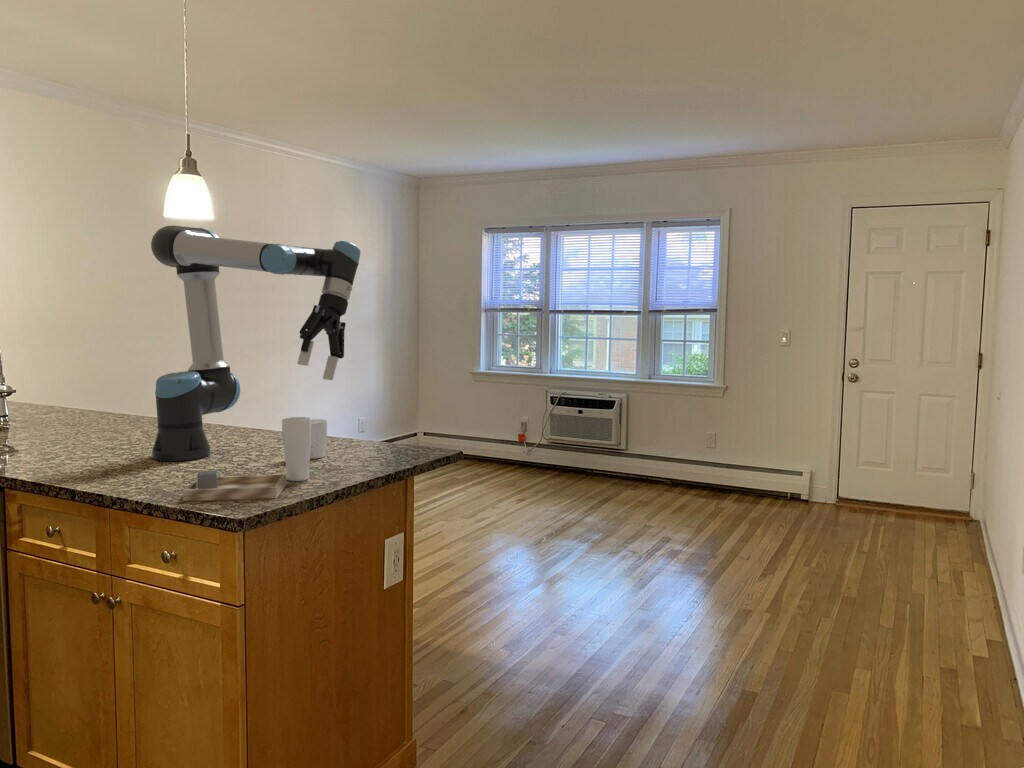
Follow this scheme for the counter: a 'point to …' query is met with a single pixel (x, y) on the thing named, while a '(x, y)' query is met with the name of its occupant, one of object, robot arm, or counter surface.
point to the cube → (208, 479)
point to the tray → (238, 488)
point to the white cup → (318, 438)
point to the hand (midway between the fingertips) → (315, 372)
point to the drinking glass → (297, 447)
